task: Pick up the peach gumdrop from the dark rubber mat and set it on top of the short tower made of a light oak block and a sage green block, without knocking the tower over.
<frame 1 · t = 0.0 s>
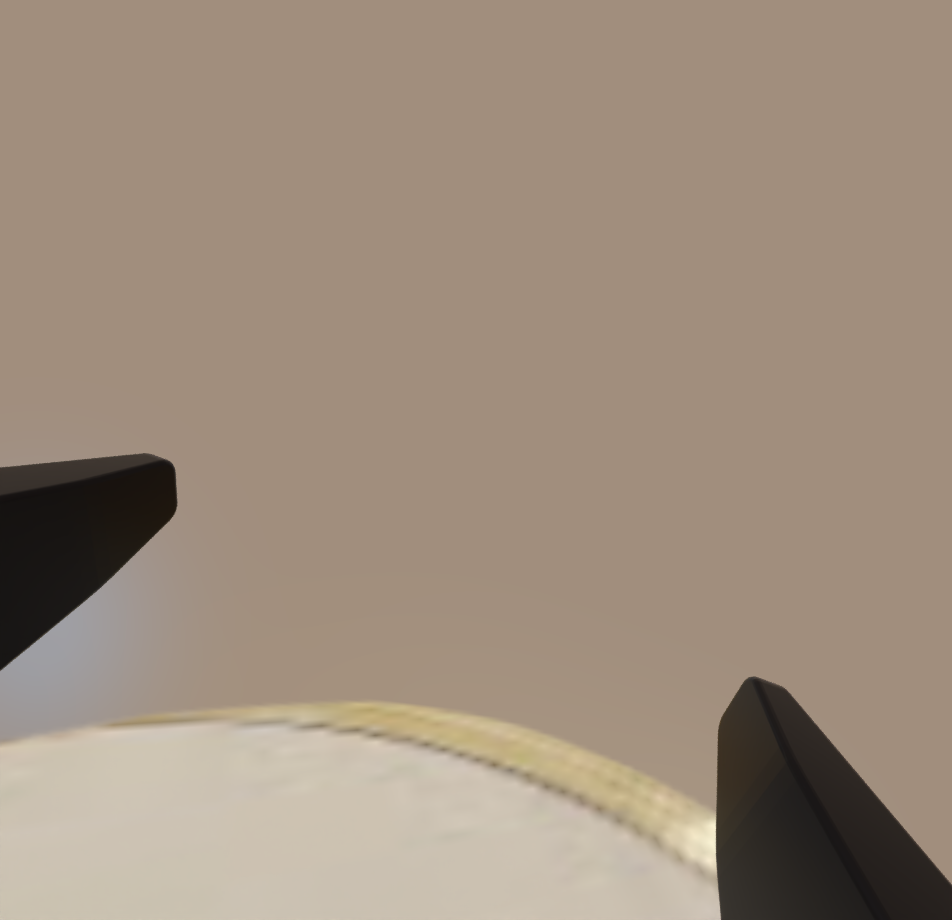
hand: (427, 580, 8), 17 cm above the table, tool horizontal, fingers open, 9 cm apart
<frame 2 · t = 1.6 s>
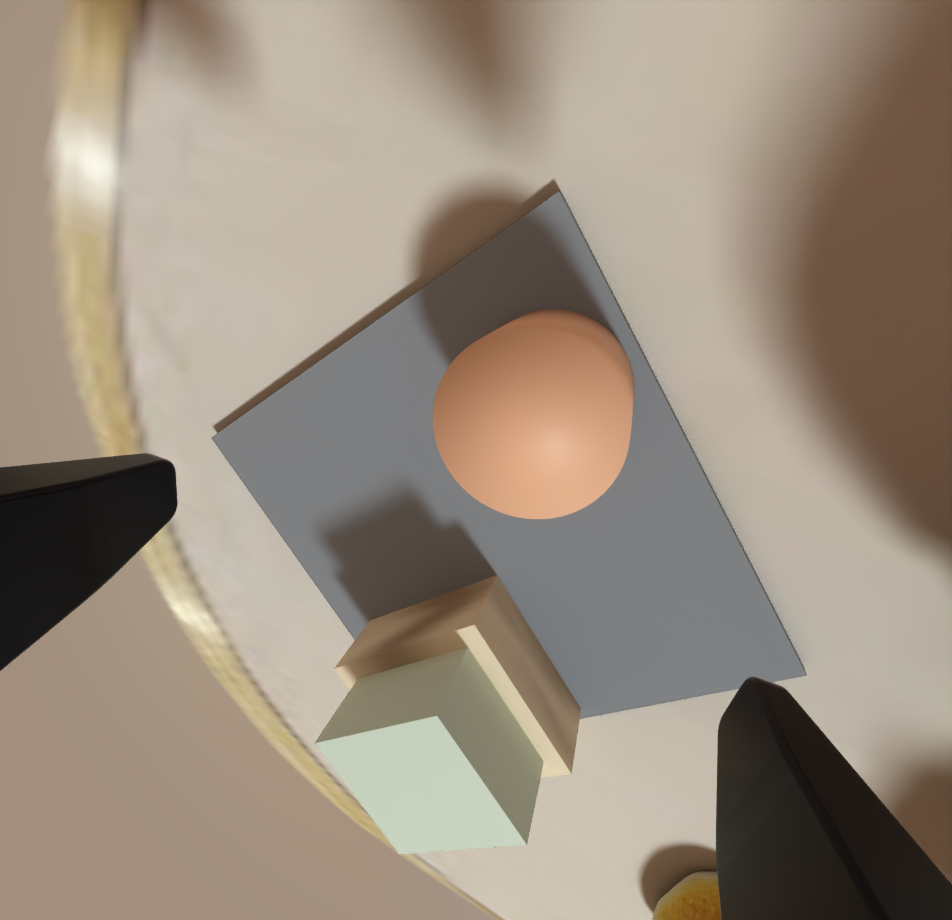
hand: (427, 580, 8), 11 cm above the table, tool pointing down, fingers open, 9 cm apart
tower base: (471, 662, 22), resting on mat, touching tower top
peach gumdrop: (551, 391, 17), resting on mat
bread roll: (758, 918, 24), on the table
mat: (480, 538, 20), on the table
tower top: (447, 718, 20), point 3 cm above the table, touching tower base
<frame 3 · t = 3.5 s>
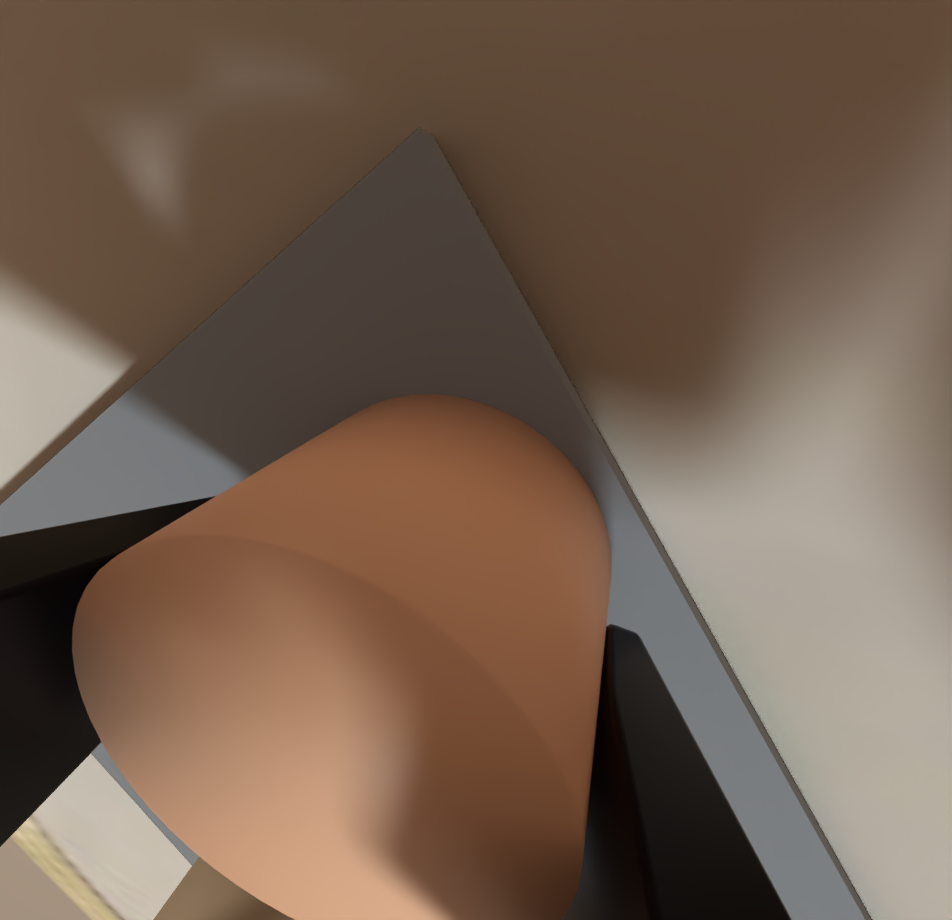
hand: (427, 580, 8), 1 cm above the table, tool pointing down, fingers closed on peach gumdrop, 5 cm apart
peach gumdrop: (445, 550, 8), resting on mat, touching gripper
mat: (356, 759, 12), on the table
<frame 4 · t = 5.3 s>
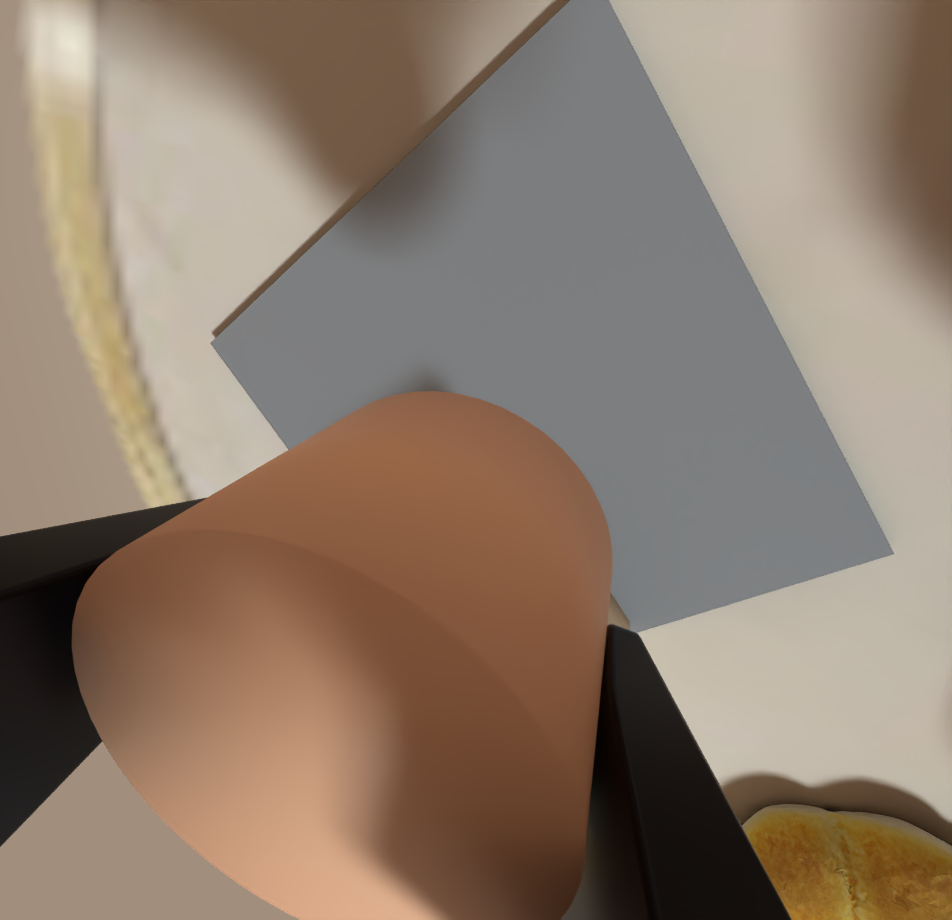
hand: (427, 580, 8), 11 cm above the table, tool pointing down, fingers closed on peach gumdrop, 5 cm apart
tower base: (505, 580, 20), resting on mat, touching tower top
peach gumdrop: (446, 548, 8), point 10 cm above the table, touching gripper
bread roll: (839, 857, 22), on the table
mat: (512, 431, 18), on the table
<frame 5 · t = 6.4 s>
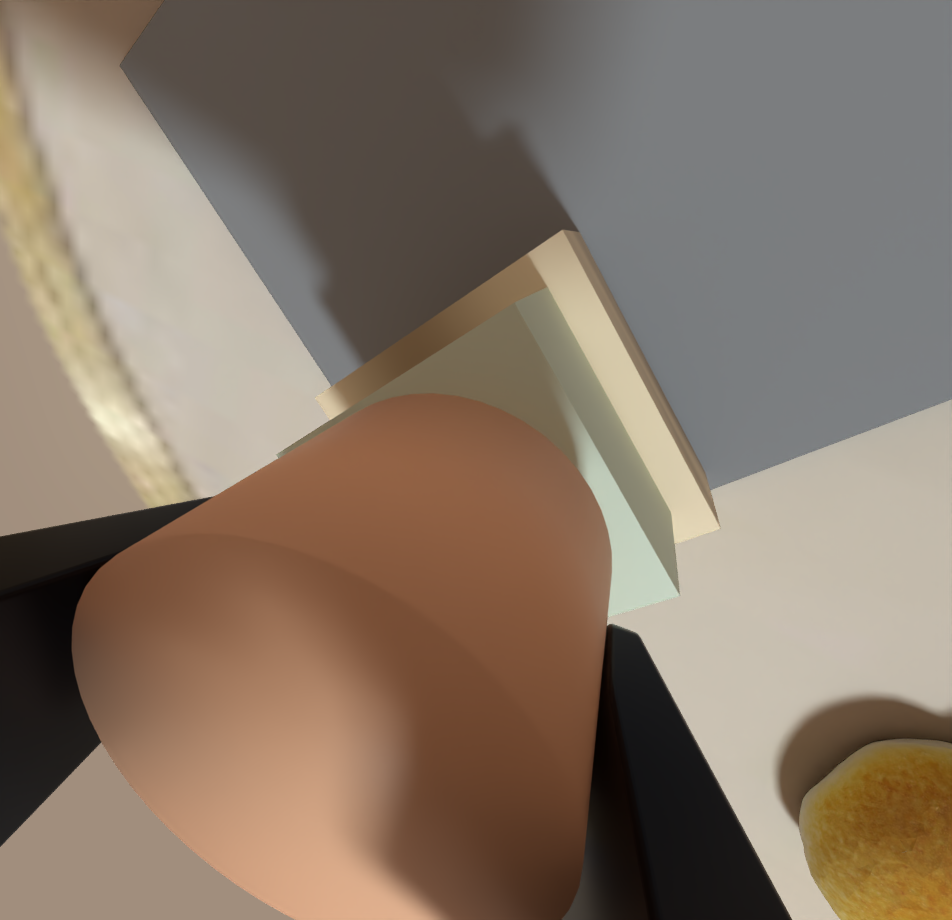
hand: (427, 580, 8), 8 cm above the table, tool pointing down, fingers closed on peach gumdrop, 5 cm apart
tower base: (528, 419, 15), resting on mat, touching tower top
peach gumdrop: (445, 550, 8), point 7 cm above the table, touching gripper
mat: (551, 175, 12), on the table
tower top: (503, 458, 12), point 3 cm above the table, touching tower base
when the fingers open (8 cm above the table, at t = 7.2 s): peach gumdrop stays where it is, resting on tower top.
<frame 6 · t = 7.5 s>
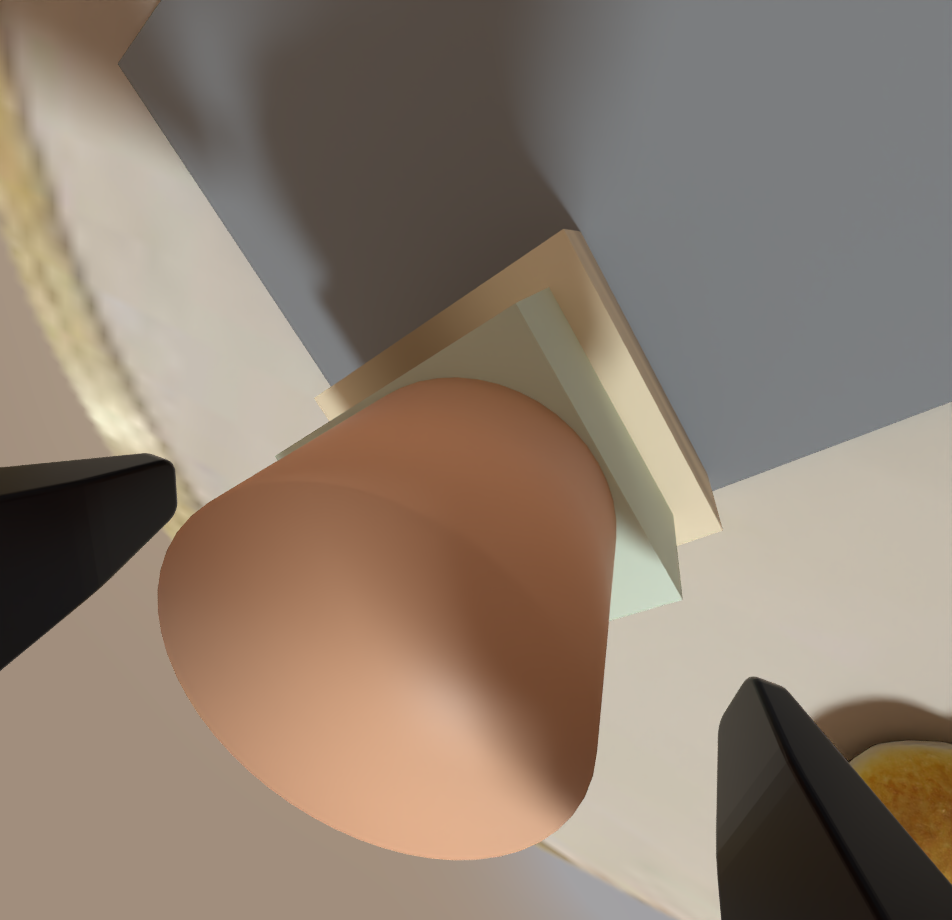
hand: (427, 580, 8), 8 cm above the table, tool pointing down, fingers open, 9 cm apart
tower base: (529, 419, 14), resting on mat, touching tower top
peach gumdrop: (465, 521, 9), point 6 cm above the table, touching tower top
mat: (552, 174, 12), on the table
tower top: (503, 459, 12), point 3 cm above the table, touching peach gumdrop, tower base
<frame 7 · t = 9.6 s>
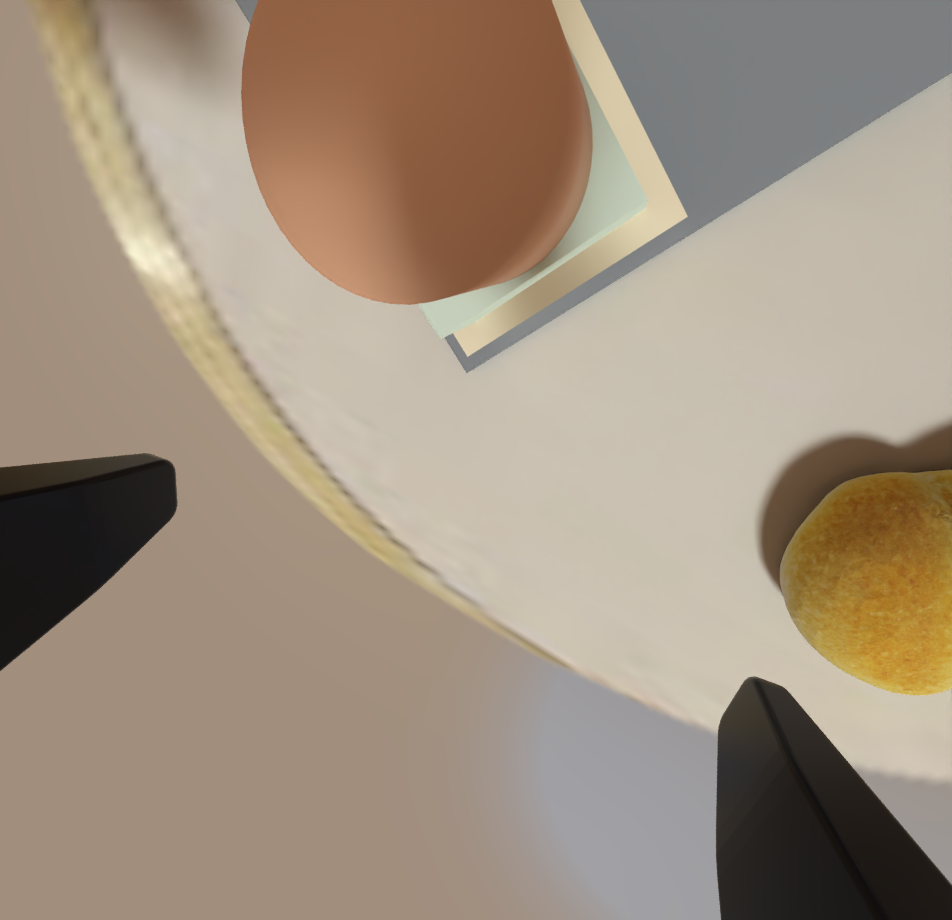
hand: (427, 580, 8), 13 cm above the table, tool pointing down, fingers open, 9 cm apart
tower base: (523, 189, 16), resting on mat, touching tower top
peach gumdrop: (470, 161, 11), point 6 cm above the table, touching tower top
bread roll: (925, 558, 18), on the table
tower top: (501, 179, 14), point 3 cm above the table, touching peach gumdrop, tower base
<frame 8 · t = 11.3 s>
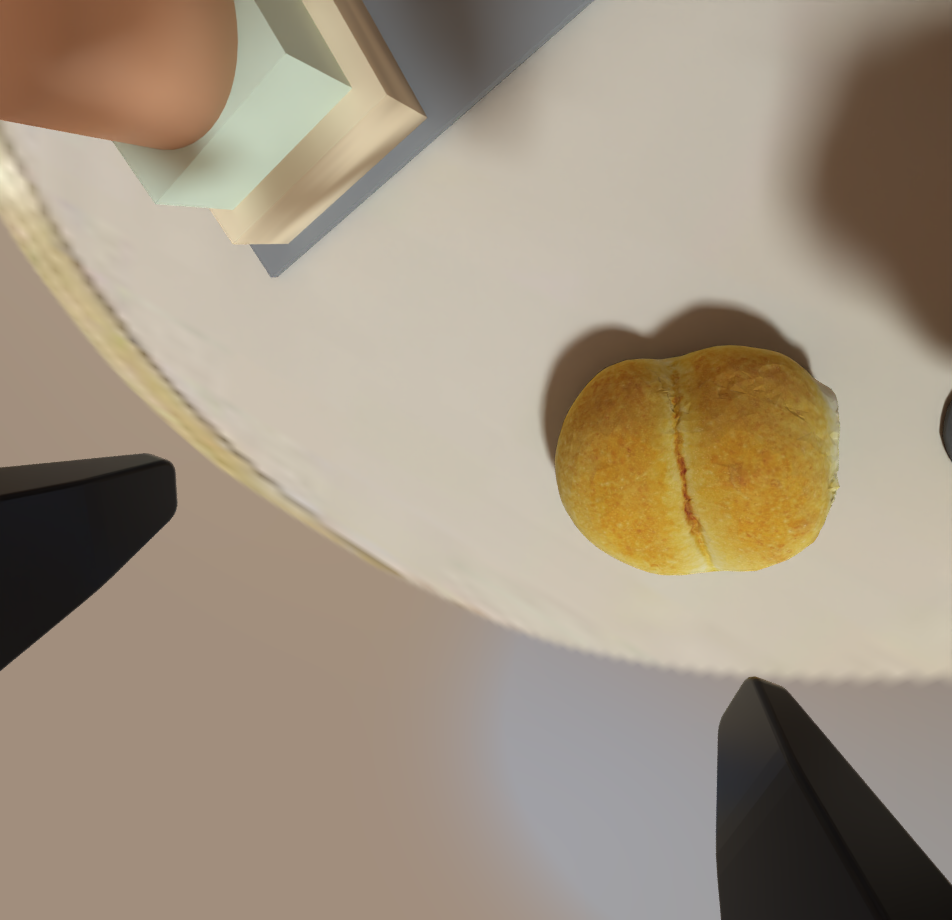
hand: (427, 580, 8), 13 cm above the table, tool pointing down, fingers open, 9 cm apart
tower base: (294, 90, 18), resting on mat, touching tower top
peach gumdrop: (145, 23, 12), point 6 cm above the table, touching tower top
bread roll: (688, 450, 19), on the table
tower top: (232, 64, 15), point 3 cm above the table, touching peach gumdrop, tower base
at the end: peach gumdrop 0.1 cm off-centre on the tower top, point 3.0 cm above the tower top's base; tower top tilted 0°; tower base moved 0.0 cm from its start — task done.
